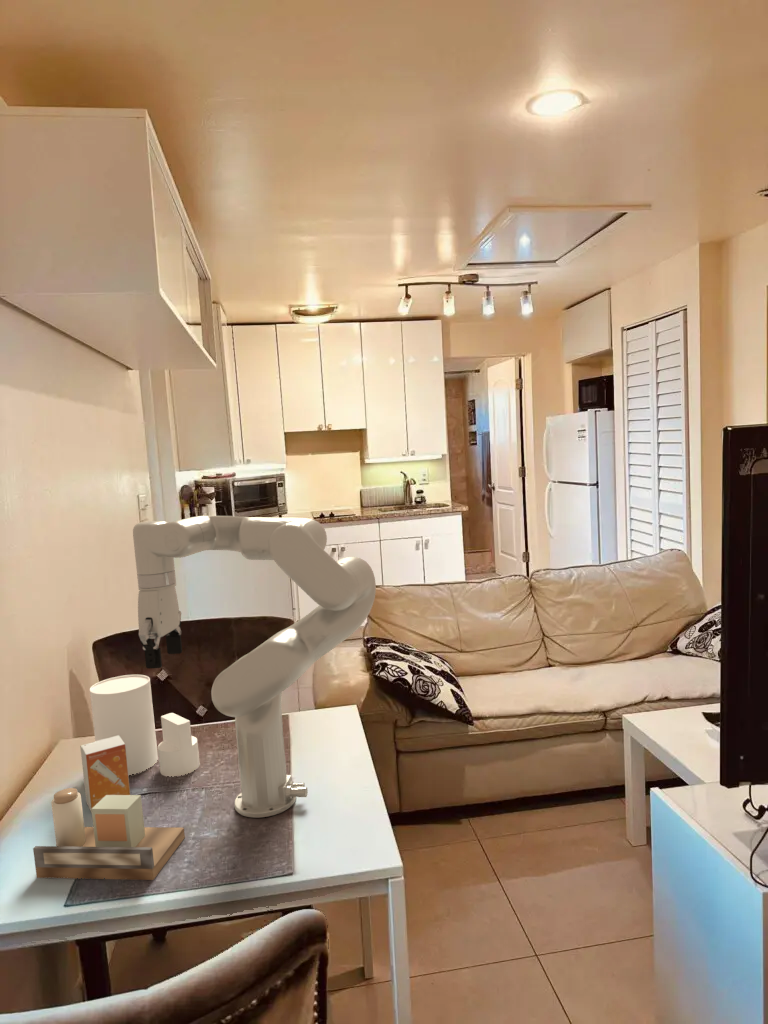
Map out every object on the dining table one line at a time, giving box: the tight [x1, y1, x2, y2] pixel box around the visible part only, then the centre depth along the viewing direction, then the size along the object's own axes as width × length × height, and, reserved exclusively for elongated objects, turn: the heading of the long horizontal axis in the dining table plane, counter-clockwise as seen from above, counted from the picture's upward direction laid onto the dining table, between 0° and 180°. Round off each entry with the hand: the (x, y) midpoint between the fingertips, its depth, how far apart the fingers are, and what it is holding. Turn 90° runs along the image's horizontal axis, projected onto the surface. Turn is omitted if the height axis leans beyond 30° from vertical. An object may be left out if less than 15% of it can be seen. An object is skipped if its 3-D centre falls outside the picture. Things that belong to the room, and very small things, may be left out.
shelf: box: [32, 826, 186, 881], centre depth 126 cm, size 22×13×6 cm, turn 82°
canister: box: [89, 674, 159, 777], centre depth 165 cm, size 14×14×20 cm
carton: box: [91, 794, 145, 847], centre depth 127 cm, size 5×7×8 cm
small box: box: [80, 735, 131, 814], centre depth 147 cm, size 8×6×13 cm
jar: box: [50, 787, 86, 847], centre depth 128 cm, size 5×5×10 cm
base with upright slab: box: [157, 712, 201, 778], centre depth 161 cm, size 9×9×12 cm
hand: (164, 660), depth 145 cm, fingers open, 9 cm apart
